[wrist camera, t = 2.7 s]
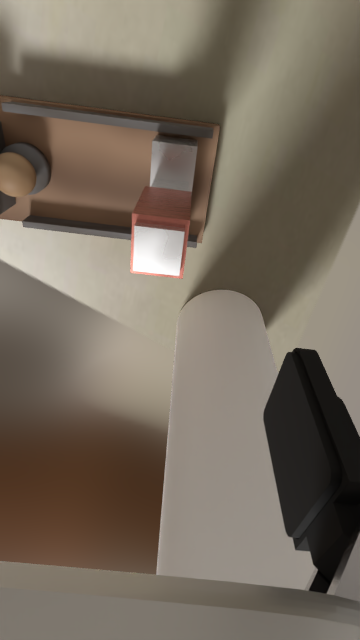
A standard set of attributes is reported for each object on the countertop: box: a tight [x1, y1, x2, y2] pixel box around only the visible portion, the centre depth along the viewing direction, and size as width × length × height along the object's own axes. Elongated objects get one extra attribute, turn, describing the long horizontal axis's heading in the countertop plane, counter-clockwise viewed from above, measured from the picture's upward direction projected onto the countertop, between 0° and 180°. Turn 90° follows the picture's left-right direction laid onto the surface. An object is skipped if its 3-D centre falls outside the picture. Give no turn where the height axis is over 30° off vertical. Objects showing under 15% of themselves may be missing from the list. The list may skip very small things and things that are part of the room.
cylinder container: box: [156, 290, 315, 590], centre depth 24 cm, size 9×9×30 cm
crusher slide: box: [131, 135, 198, 279], centre depth 21 cm, size 7×3×12 cm, turn 174°
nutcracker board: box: [0, 95, 220, 248], centre depth 25 cm, size 9×18×6 cm, turn 84°
